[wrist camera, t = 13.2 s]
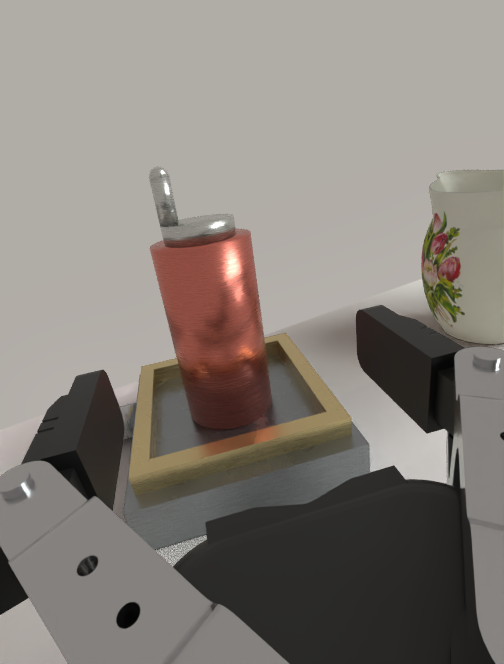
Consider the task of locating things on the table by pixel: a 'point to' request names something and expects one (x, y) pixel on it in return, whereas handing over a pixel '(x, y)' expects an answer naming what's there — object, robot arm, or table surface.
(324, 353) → the table surface
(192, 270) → the spout can
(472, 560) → the robot arm
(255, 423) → the grey tray
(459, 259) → the pitcher
